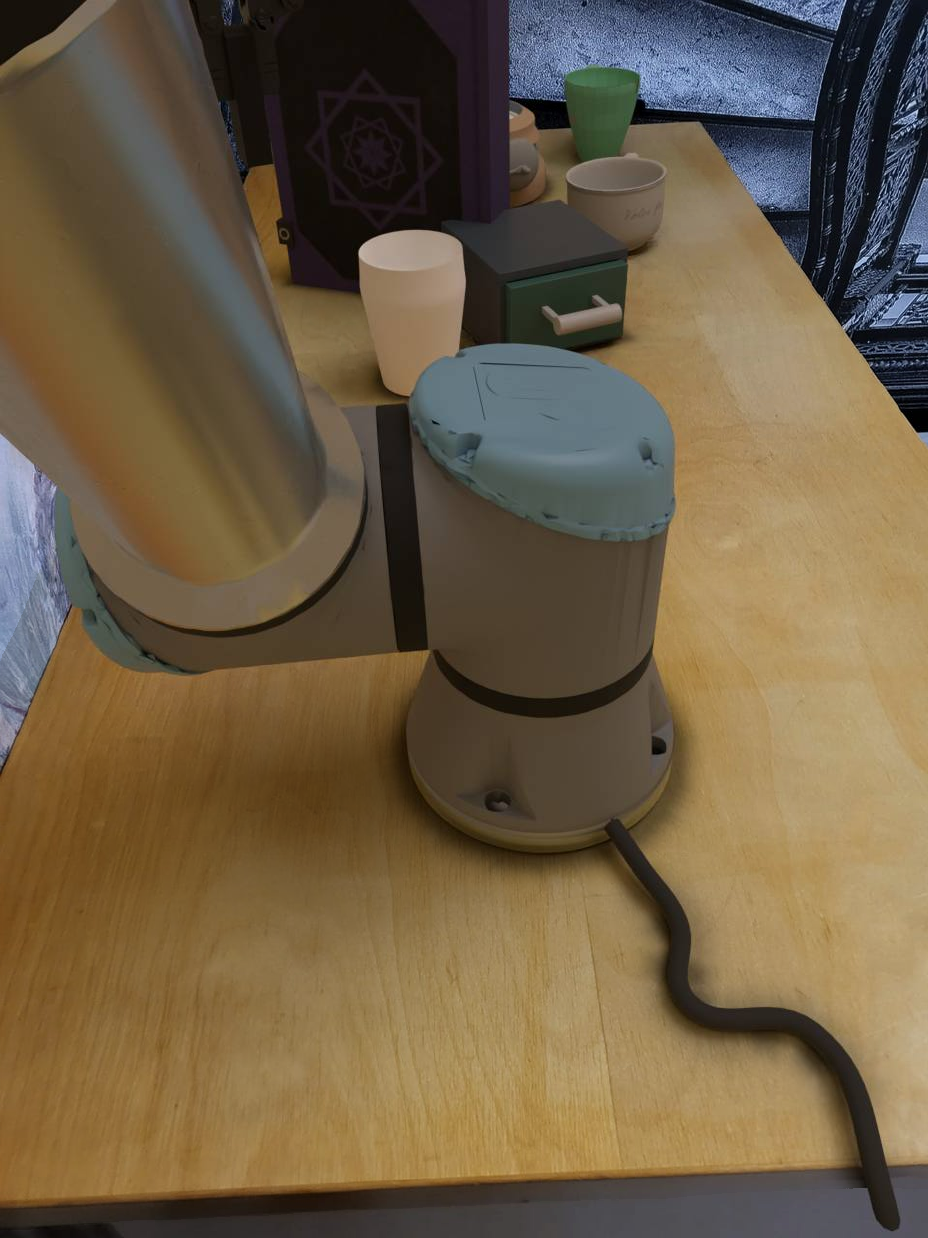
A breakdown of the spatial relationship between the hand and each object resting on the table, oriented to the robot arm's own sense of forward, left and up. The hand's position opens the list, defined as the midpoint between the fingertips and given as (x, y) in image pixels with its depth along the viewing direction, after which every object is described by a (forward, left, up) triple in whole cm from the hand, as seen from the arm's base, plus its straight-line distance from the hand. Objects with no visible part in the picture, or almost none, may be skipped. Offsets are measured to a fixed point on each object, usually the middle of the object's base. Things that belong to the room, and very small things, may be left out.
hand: (255, 158), depth 58 cm
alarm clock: (+59, -38, -27) cm, 75 cm away
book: (+38, -20, -27) cm, 51 cm away
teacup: (+39, -47, -27) cm, 67 cm away
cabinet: (+24, -29, -26) cm, 46 cm away
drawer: (+20, -29, -25) cm, 43 cm away
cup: (+18, -15, -27) cm, 35 cm away
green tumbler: (+67, -59, -27) cm, 93 cm away
